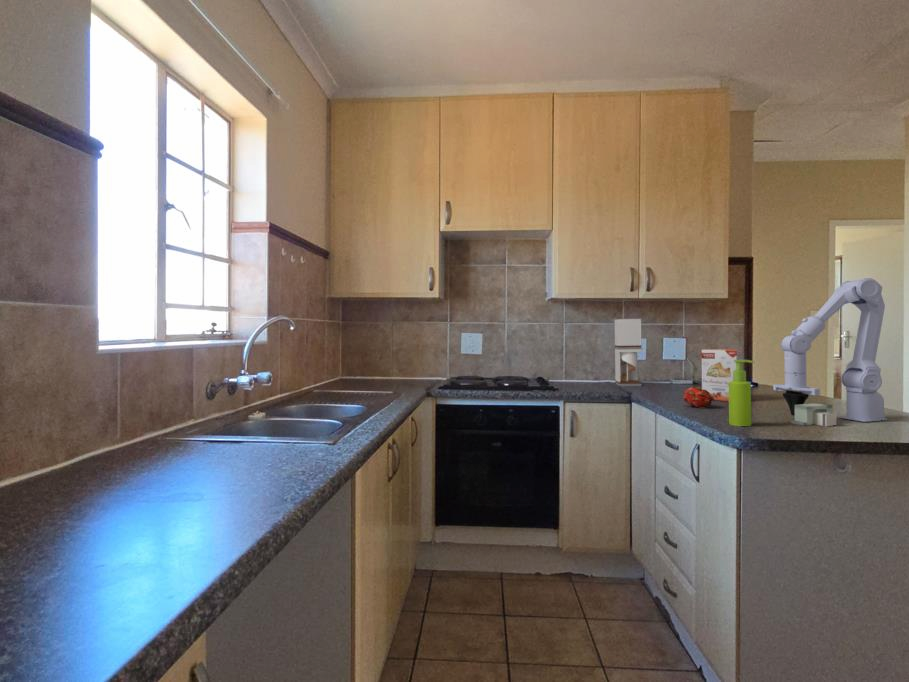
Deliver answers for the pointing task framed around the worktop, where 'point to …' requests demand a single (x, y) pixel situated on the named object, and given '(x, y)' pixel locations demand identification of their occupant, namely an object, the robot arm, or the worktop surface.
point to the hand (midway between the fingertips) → (795, 415)
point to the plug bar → (824, 418)
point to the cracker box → (719, 371)
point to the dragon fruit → (697, 397)
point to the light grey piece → (627, 351)
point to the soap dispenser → (740, 397)
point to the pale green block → (809, 412)
